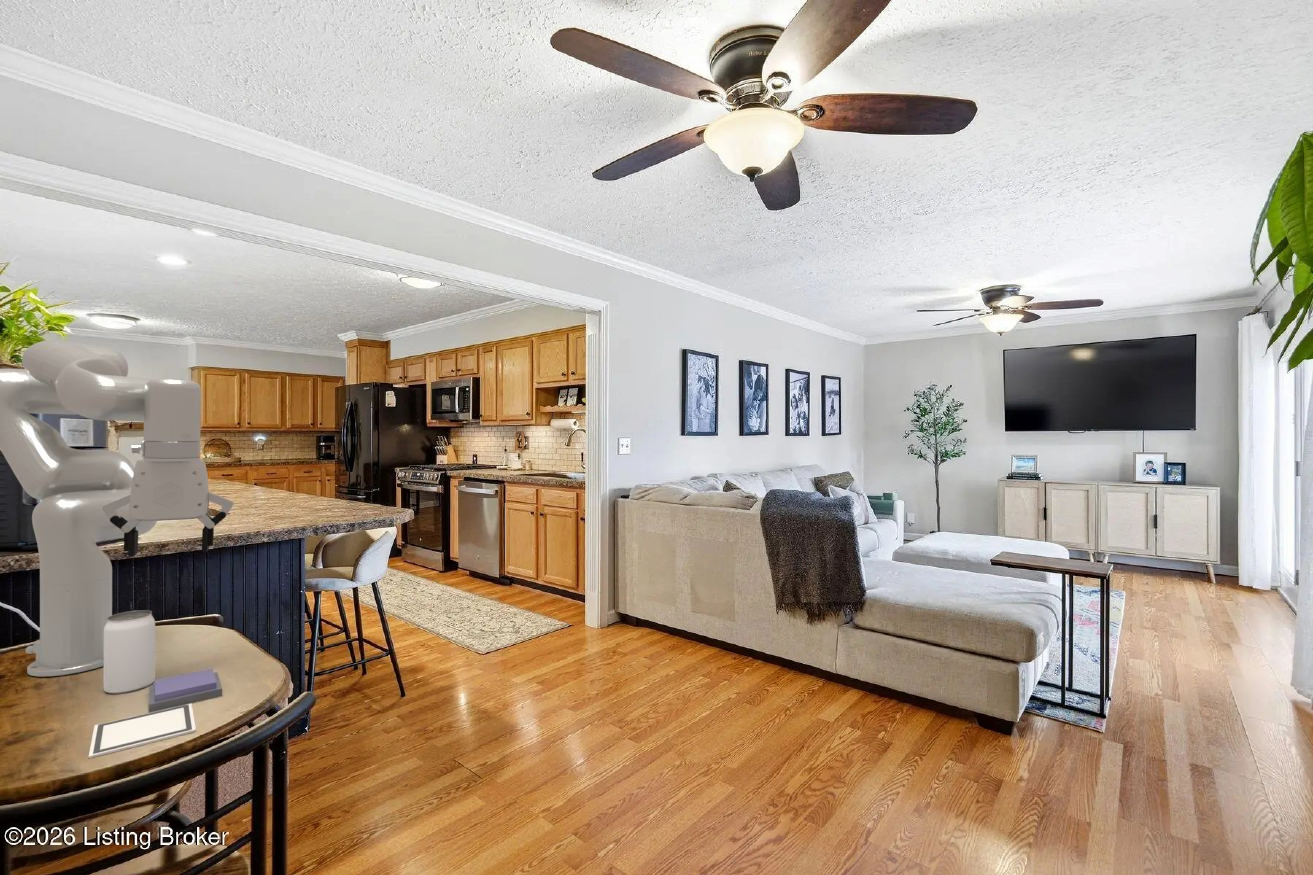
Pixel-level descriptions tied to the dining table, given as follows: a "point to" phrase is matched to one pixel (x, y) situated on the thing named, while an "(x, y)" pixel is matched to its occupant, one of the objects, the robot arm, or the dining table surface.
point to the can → (129, 652)
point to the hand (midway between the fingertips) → (170, 552)
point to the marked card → (141, 730)
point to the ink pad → (184, 689)
